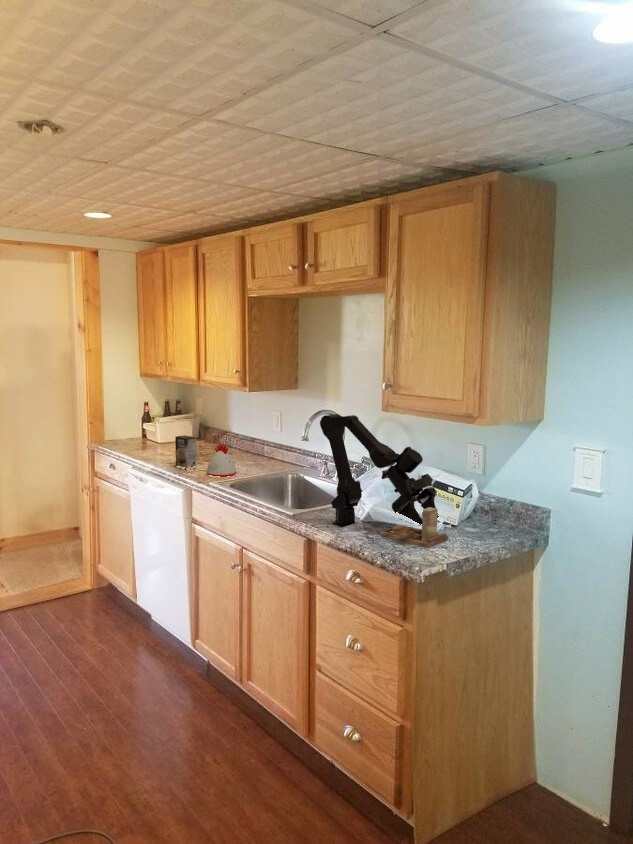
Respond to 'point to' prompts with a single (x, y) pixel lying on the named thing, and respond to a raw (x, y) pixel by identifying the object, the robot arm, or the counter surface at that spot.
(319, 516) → the counter surface
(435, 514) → the tan wooden block
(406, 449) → the robot arm
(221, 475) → the grey pompom beanie
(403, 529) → the oak offcut upper
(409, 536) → the oak offcut lower
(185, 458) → the coffee box
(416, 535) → the rack
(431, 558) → the counter surface
